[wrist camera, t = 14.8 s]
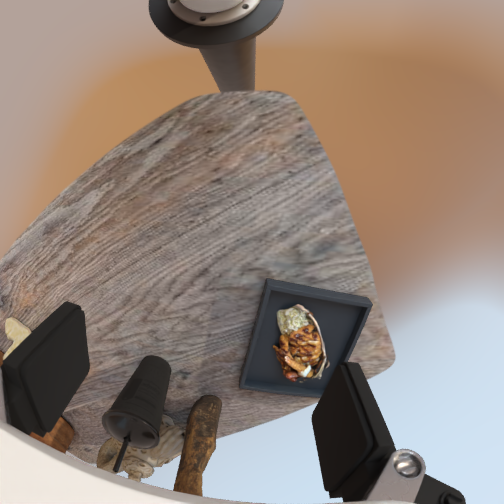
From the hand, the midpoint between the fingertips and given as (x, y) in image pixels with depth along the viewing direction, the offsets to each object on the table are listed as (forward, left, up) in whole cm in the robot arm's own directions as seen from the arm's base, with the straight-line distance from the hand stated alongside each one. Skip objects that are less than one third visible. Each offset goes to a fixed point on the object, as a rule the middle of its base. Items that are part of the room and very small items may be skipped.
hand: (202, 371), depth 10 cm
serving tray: (+15, +12, -26) cm, 33 cm away
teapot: (+39, -9, -26) cm, 48 cm away
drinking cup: (+25, -8, -26) cm, 37 cm away
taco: (+15, +11, -26) cm, 32 cm away
